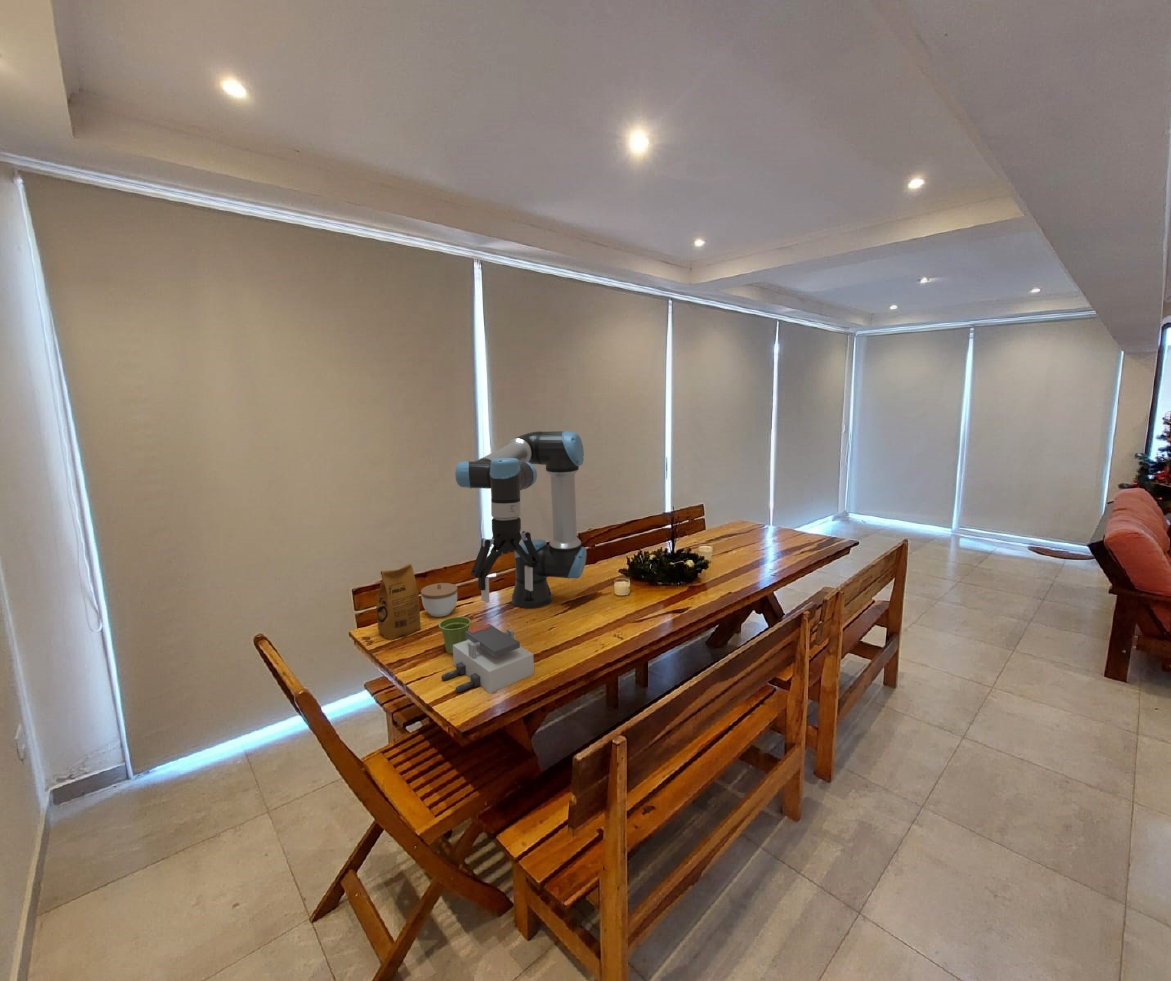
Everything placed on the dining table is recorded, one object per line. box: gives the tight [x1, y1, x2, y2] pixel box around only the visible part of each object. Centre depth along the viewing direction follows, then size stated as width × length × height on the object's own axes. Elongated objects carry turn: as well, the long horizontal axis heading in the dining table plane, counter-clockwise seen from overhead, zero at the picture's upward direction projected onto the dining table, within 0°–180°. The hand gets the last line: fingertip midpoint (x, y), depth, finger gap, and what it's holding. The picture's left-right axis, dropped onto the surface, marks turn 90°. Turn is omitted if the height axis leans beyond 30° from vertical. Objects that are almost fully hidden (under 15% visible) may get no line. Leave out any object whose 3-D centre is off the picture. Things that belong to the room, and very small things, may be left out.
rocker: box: [465, 623, 521, 657], centre depth 143 cm, size 11×16×2 cm, turn 42°
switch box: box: [441, 628, 535, 694], centre depth 141 cm, size 21×20×10 cm
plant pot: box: [438, 616, 472, 654], centre depth 156 cm, size 9×9×9 cm
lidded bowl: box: [420, 582, 458, 618], centre depth 183 cm, size 13×13×11 cm
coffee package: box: [376, 563, 421, 641], centre depth 167 cm, size 10×12×22 cm
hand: (507, 595), depth 136 cm, fingers open, 13 cm apart
